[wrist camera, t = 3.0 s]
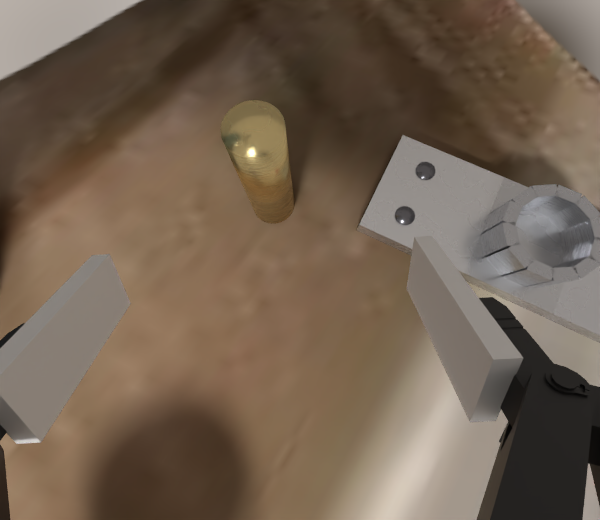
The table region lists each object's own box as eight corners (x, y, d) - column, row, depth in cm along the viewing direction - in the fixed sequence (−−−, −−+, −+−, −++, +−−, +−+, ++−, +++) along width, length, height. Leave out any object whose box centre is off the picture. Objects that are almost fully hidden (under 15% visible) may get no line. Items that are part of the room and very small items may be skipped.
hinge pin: (246, 212, 29) (208, 142, 18) (265, 178, 30) (240, 90, 19) (282, 230, 29) (266, 168, 18) (301, 194, 29) (296, 115, 18)
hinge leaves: (356, 230, 28) (365, 211, 24) (398, 144, 30) (413, 112, 26) (655, 368, 25) (727, 375, 21) (683, 265, 27) (756, 251, 23)
